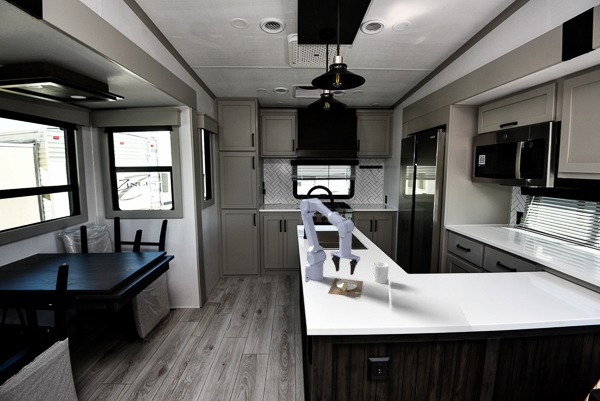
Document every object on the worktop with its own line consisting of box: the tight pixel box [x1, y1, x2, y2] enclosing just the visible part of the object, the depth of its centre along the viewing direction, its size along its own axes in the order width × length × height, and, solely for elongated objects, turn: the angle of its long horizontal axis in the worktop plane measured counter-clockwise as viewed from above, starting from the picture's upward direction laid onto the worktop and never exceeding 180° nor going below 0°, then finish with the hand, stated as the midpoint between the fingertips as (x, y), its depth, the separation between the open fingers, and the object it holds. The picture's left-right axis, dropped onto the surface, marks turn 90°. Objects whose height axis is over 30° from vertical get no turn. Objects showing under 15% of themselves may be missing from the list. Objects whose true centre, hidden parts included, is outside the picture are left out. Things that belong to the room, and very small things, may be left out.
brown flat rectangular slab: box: [327, 277, 364, 299], centre depth 137 cm, size 15×19×2 cm
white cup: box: [372, 261, 390, 284], centre depth 145 cm, size 8×8×10 cm
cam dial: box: [336, 279, 357, 292], centre depth 135 cm, size 15×10×5 cm
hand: (344, 272), depth 134 cm, fingers open, 7 cm apart
